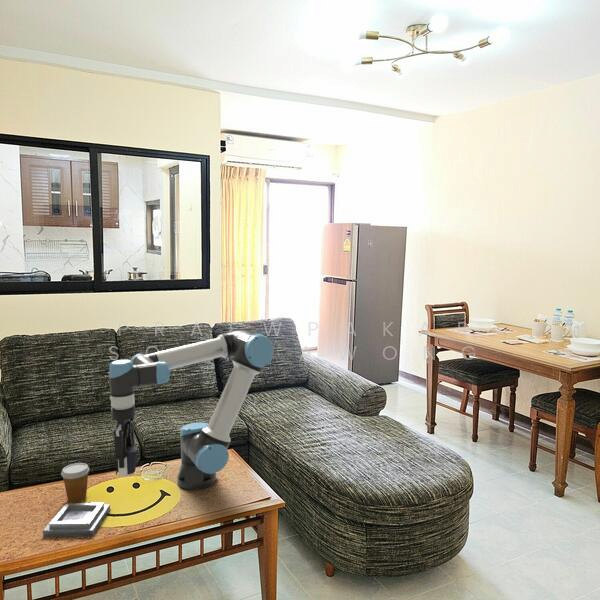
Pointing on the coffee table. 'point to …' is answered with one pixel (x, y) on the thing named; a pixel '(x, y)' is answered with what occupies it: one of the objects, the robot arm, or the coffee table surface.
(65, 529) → the white square tray
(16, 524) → the coffee table surface
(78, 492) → the disposable coffee cup
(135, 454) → the speaker
